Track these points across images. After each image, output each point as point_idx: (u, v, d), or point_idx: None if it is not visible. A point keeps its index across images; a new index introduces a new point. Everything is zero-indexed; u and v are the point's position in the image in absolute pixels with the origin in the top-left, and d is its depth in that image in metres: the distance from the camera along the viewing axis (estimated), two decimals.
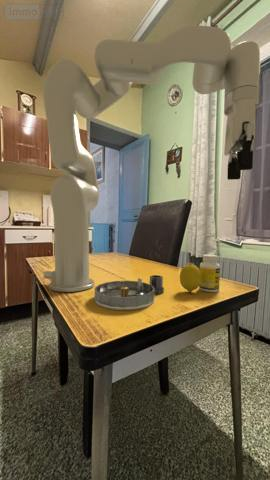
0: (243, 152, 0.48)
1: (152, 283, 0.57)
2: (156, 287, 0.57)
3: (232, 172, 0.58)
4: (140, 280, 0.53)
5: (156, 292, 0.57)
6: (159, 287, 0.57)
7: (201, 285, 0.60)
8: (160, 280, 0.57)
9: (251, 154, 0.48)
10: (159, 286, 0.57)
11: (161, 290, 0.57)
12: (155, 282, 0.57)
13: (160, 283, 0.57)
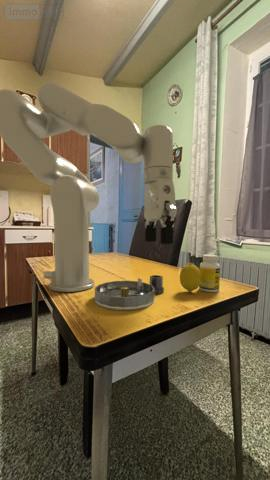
0: None
1: (152, 283, 0.57)
2: (156, 287, 0.57)
3: None
4: (140, 280, 0.53)
5: (156, 292, 0.57)
6: (159, 287, 0.57)
7: (201, 285, 0.60)
8: (160, 280, 0.57)
9: None
10: (159, 286, 0.57)
11: (161, 290, 0.57)
12: (155, 282, 0.57)
13: (160, 283, 0.57)
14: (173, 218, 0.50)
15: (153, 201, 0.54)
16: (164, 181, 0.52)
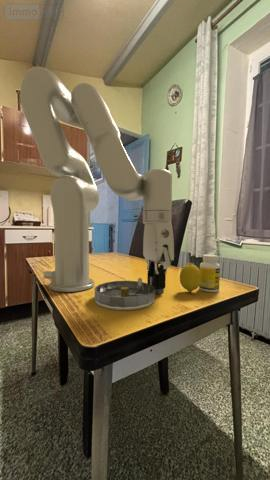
0: None
1: (152, 283, 0.57)
2: None
3: None
4: (140, 280, 0.53)
5: (156, 292, 0.57)
6: None
7: (201, 285, 0.60)
8: None
9: None
10: None
11: (161, 290, 0.57)
12: None
13: None
14: (165, 268, 0.54)
15: (152, 243, 0.55)
16: (163, 225, 0.53)
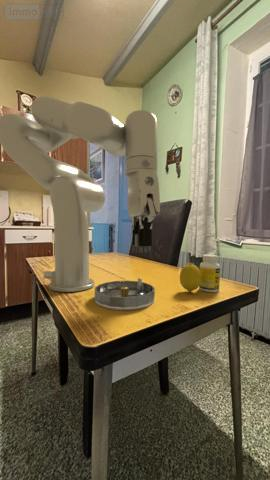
0: None
1: (137, 241, 0.51)
2: None
3: None
4: (140, 280, 0.53)
5: (141, 250, 0.51)
6: None
7: (201, 285, 0.60)
8: None
9: None
10: None
11: (147, 248, 0.51)
12: None
13: None
14: (150, 221, 0.48)
15: (135, 194, 0.49)
16: (146, 172, 0.47)
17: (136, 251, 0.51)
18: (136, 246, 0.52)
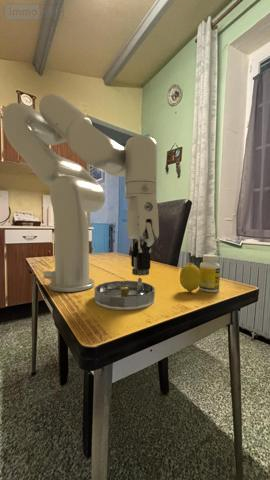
0: None
1: (136, 264, 0.52)
2: None
3: None
4: (140, 280, 0.53)
5: (140, 273, 0.51)
6: None
7: (201, 285, 0.60)
8: None
9: None
10: None
11: (146, 271, 0.52)
12: None
13: None
14: (149, 246, 0.48)
15: (134, 219, 0.49)
16: (146, 197, 0.48)
17: (135, 274, 0.51)
18: (135, 269, 0.52)
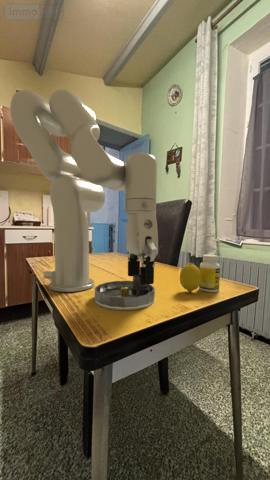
0: None
1: (135, 283, 0.52)
2: (139, 288, 0.52)
3: None
4: None
5: (139, 293, 0.51)
6: (143, 288, 0.52)
7: (201, 285, 0.60)
8: None
9: None
10: (143, 287, 0.52)
11: (145, 291, 0.52)
12: (138, 282, 0.52)
13: None
14: (153, 259, 0.46)
15: (134, 235, 0.50)
16: (145, 215, 0.48)
17: (134, 294, 0.52)
18: (134, 288, 0.52)
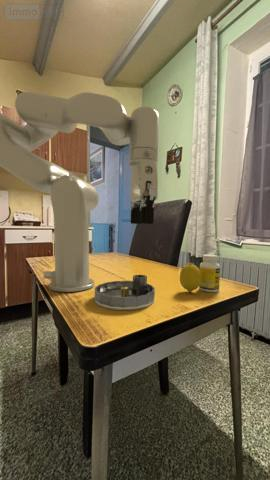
0: None
1: (135, 283, 0.52)
2: (139, 288, 0.52)
3: None
4: None
5: (139, 293, 0.51)
6: (143, 288, 0.52)
7: (201, 285, 0.60)
8: (144, 280, 0.52)
9: None
10: (143, 287, 0.52)
11: (145, 291, 0.52)
12: (138, 282, 0.52)
13: (144, 283, 0.52)
14: (152, 197, 0.51)
15: (136, 182, 0.55)
16: (146, 162, 0.53)
17: (134, 294, 0.52)
18: (134, 288, 0.52)
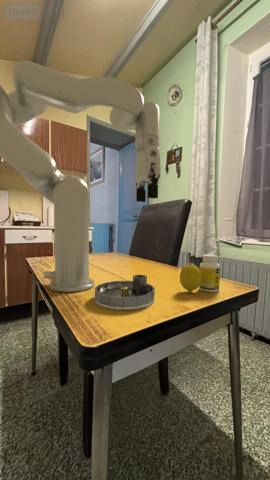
0: None
1: (135, 283, 0.52)
2: (139, 288, 0.52)
3: None
4: None
5: (139, 293, 0.51)
6: (143, 288, 0.52)
7: (201, 285, 0.60)
8: (144, 280, 0.52)
9: None
10: (143, 287, 0.52)
11: (145, 291, 0.52)
12: (138, 282, 0.52)
13: (144, 283, 0.52)
14: (157, 175, 0.62)
15: (142, 164, 0.66)
16: (151, 147, 0.65)
17: (134, 294, 0.52)
18: (134, 288, 0.52)
